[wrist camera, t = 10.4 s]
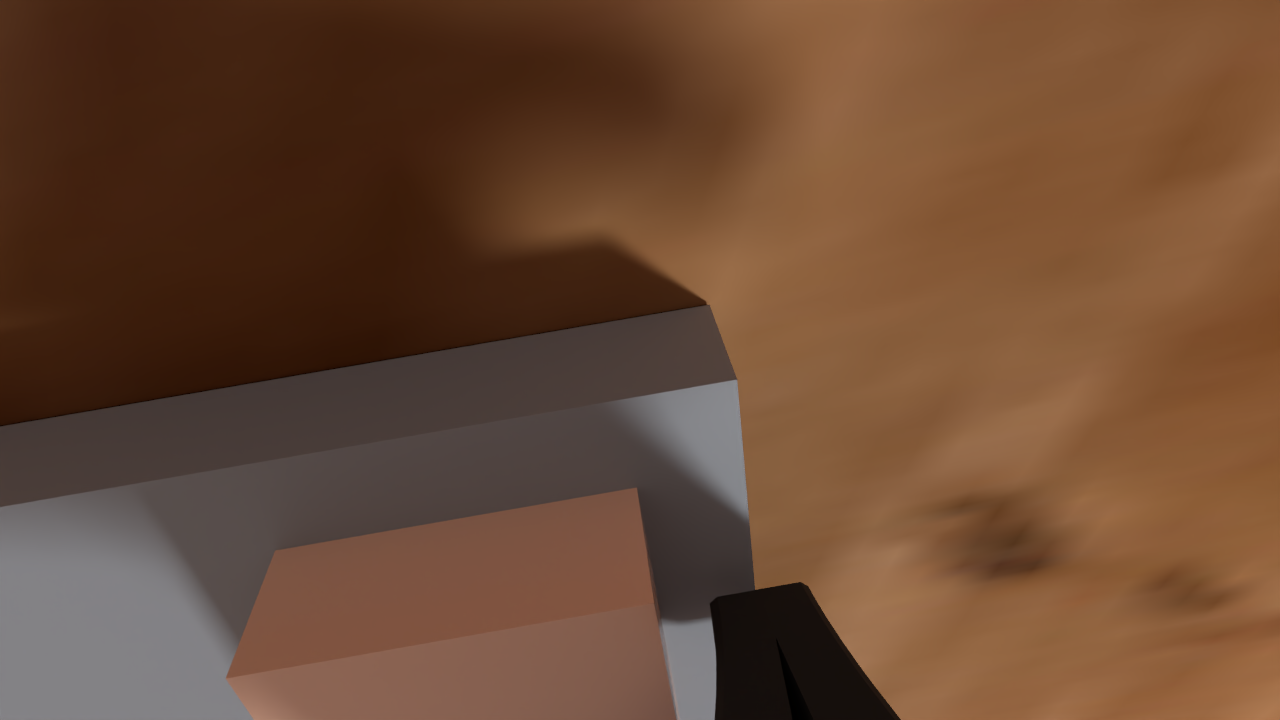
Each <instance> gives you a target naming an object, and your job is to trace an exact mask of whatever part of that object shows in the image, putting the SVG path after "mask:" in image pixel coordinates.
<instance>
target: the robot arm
mask: <svg viewBox="0 0 1280 720" xmlns="http://www.w3.org/2000/svg"><path fill="white" fill-rule="evenodd" d="M710 611H711V619H712V626H713V634H714V642H715V650H716V704H715V720H901V719H900V718H899V717H898V716H897V714H896V713H895V712H894V710H893V709H892V708H891V707H890V705H889V704H888V703H887V702H886V700H885V699H884V698H883V696H882V695H881V694H880V693H879V691H878V690H877V689H876V687H875V686H874V685H873V684H872V682H871V681H870V680H869V678H868V677H867V675H866V674H865V673H864V671H863V670H862V669H861V667H860V666H859V665H858V663H857V662H856V660H855V659H854V658H853V656H852V655H851V653H850V652H849V650H848V649H847V648H846V646H845V645H844V643H843V642H842V640H841V639H840V637H839V636H838V634H837V633H836V631H835V630H834V628H833V627H832V625H831V624H830V622H829V621H828V619H827V618H826V616H825V614H824V613H823V611H822V610H821V608H820V606H819V605H818V603H817V601H816V600H815V598H814V596H813V594H812V593H811V591H810V589H809V587H808V586H806V585H805V584H803V583H801V582H799V583H793V584H787V585H781V586H776V587H770V588H764V589H758V590H753V591H747V592H741V593H735V594H730V595H724V596H718V597H716V598H715V599H714V600H713V601H712V602H711V603H710Z"/></svg>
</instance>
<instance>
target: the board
mask: <svg viewBox="0 0 1280 720" xmlns="http://www.w3.org/2000/svg"><path fill="white" fill-rule="evenodd" d="M631 488H637V491H638V496H639V502H640V507H641V512H642V518H643V523H644V528H645V534H646V539H647V544H648V550H649V555H650V560H651V566H652V571H653V577H654V582H655V587H656V593H657V598H658V603H659V609H660V614H661V619H662V625H663V630H664V635H665V641H666V646H667V651H668V657H669V662H670V668H671V673H672V678H673V684H674V689H675V694H676V700H677V705H678V712H679V718H680V720H715V704H716V650H715V642H714V634H713V626H712V619H711V611H710V603H711V602H712V601H713V600H714V599H715V598H716V597H718V596H724V595H730V594H735V593H741V592H747V591H753V590H755V585H754V573H753V561H752V549H751V538H750V526H749V514H748V503H747V491H746V479H745V467H744V456H743V444H742V432H741V420H740V409H739V397H738V385H737V378H736V375H735V373H734V370H733V367H732V365H731V362H730V359H729V357H728V354H727V351H726V348H725V346H724V343H723V340H722V338H721V335H720V332H719V330H718V327H717V324H716V321H715V319H714V316H713V313H712V311H711V308H710V305H705V306H699V307H693V308H687V309H681V310H676V311H670V312H664V313H658V314H652V315H647V316H641V317H635V318H629V319H623V320H617V321H612V322H606V323H600V324H594V325H588V326H582V327H577V328H571V329H565V330H559V331H553V332H548V333H542V334H536V335H530V336H524V337H518V338H513V339H507V340H501V341H495V342H489V343H484V344H478V345H472V346H466V347H460V348H454V349H449V350H443V351H437V352H431V353H425V354H419V355H414V356H408V357H402V358H396V359H390V360H385V361H379V362H373V363H367V364H361V365H355V366H350V367H344V368H338V369H332V370H326V371H321V372H315V373H309V374H303V375H297V376H291V377H286V378H280V379H274V380H268V381H262V382H256V383H251V384H245V385H239V386H233V387H227V388H222V389H216V390H210V391H204V392H198V393H192V394H187V395H181V396H175V397H169V398H163V399H158V400H152V401H146V402H140V403H134V404H128V405H123V406H117V407H111V408H105V409H99V410H93V411H88V412H82V413H76V414H70V415H64V416H59V417H53V418H47V419H41V420H35V421H29V422H24V423H18V424H12V425H6V426H0V720H254V719H253V718H252V716H251V715H250V713H249V712H248V710H247V709H246V708H245V706H244V705H243V703H242V702H241V700H240V699H239V697H238V696H237V695H236V693H235V692H234V690H233V689H232V687H231V686H230V684H229V683H228V682H227V680H226V676H227V674H228V671H229V668H230V666H231V663H232V661H233V658H234V655H235V653H236V650H237V648H238V645H239V643H240V640H241V637H242V635H243V632H244V630H245V627H246V624H247V622H248V619H249V617H250V614H251V612H252V609H253V606H254V604H255V601H256V599H257V596H258V594H259V591H260V588H261V586H262V583H263V581H264V578H265V575H266V573H267V570H268V568H269V565H270V563H271V560H272V557H273V555H274V552H275V551H276V550H281V549H287V548H293V547H299V546H304V545H310V544H316V543H322V542H327V541H333V540H339V539H344V538H350V537H356V536H362V535H367V534H373V533H379V532H385V531H390V530H396V529H402V528H408V527H413V526H419V525H425V524H430V523H436V522H442V521H448V520H453V519H459V518H465V517H471V516H476V515H482V514H488V513H494V512H499V511H505V510H511V509H516V508H522V507H528V506H534V505H539V504H545V503H551V502H557V501H562V500H568V499H574V498H580V497H585V496H591V495H597V494H602V493H608V492H614V491H620V490H625V489H631Z"/></svg>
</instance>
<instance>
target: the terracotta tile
mask: <svg viewBox="0 0 1280 720" xmlns="http://www.w3.org/2000/svg"><path fill="white" fill-rule="evenodd" d="M226 680H227V682H228V683H229V684H230V686H231V687H232V689H233V690H234V692H235V693H236V695H237V696H238V697H239V699H240V700H241V702H242V703H243V705H244V706H245V708H246V709H247V710H248V712H249V713H250V715H251V716H252V718H253V719H254V720H680V718H679V712H678V705H677V700H676V694H675V689H674V684H673V678H672V673H671V668H670V662H669V657H668V651H667V646H666V641H665V635H664V630H663V625H662V619H661V614H660V609H659V603H658V598H657V593H656V587H655V582H654V577H653V571H652V566H651V560H650V555H649V550H648V544H647V539H646V534H645V528H644V523H643V518H642V512H641V507H640V502H639V496H638V491H637V488H631V489H625V490H620V491H614V492H608V493H602V494H597V495H591V496H585V497H580V498H574V499H568V500H562V501H557V502H551V503H545V504H539V505H534V506H528V507H522V508H516V509H511V510H505V511H499V512H494V513H488V514H482V515H476V516H471V517H465V518H459V519H453V520H448V521H442V522H436V523H430V524H425V525H419V526H413V527H408V528H402V529H396V530H390V531H385V532H379V533H373V534H367V535H362V536H356V537H350V538H344V539H339V540H333V541H327V542H322V543H316V544H310V545H304V546H299V547H293V548H287V549H281V550H276V551H275V552H274V555H273V557H272V560H271V563H270V565H269V568H268V570H267V573H266V575H265V578H264V581H263V583H262V586H261V588H260V591H259V594H258V596H257V599H256V601H255V604H254V606H253V609H252V612H251V614H250V617H249V619H248V622H247V624H246V627H245V630H244V632H243V635H242V637H241V640H240V643H239V645H238V648H237V650H236V653H235V655H234V658H233V661H232V663H231V666H230V668H229V671H228V674H227V676H226Z"/></svg>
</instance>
